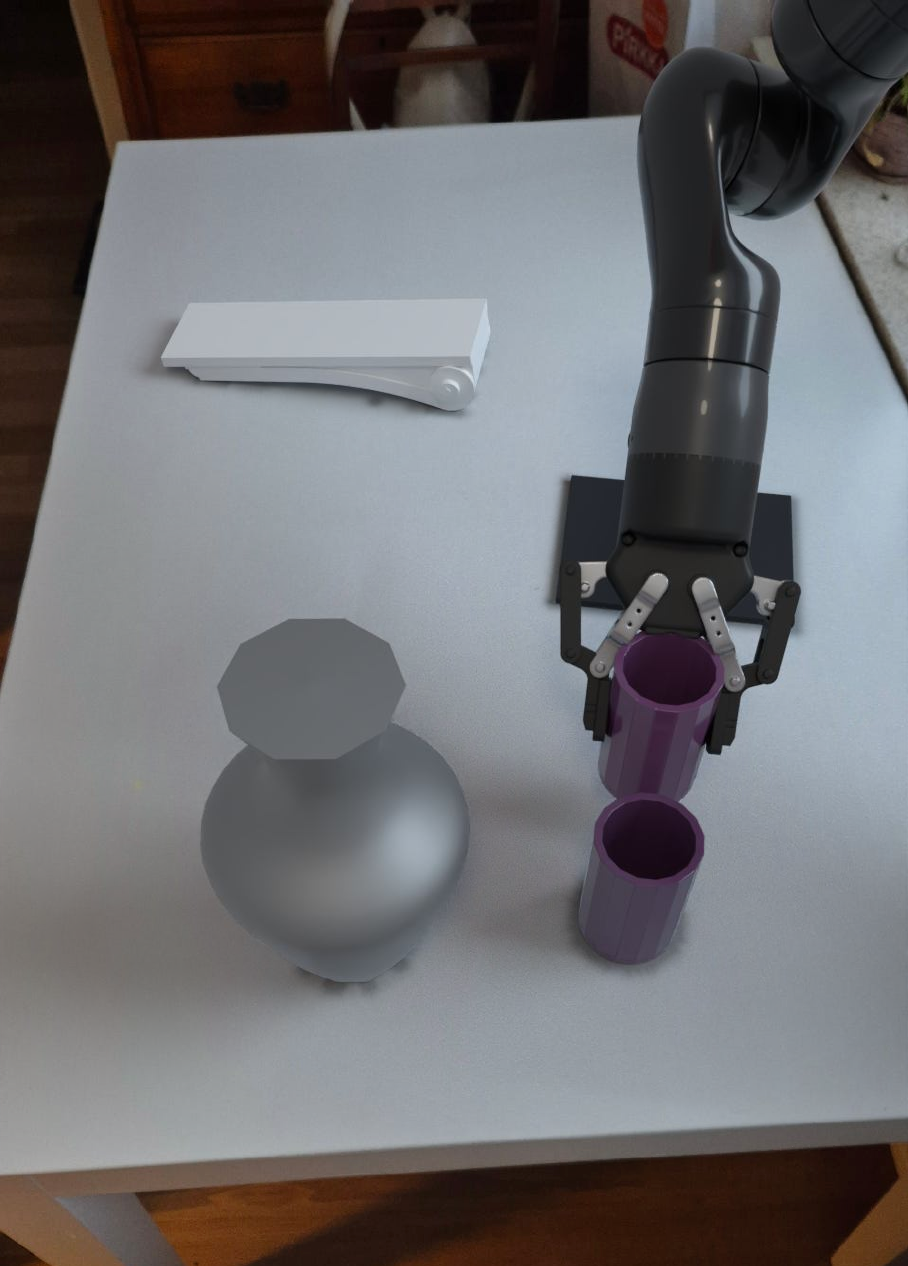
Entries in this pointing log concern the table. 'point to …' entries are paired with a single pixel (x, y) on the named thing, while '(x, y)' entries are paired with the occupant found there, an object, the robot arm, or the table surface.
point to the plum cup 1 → (659, 714)
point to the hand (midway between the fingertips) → (655, 745)
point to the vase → (330, 804)
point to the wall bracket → (340, 345)
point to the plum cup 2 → (639, 876)
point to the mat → (597, 534)
